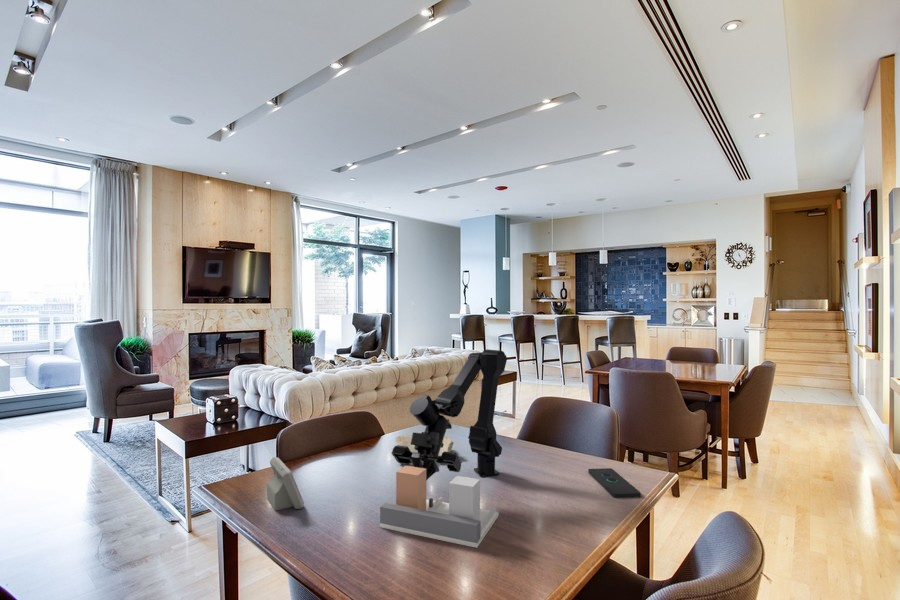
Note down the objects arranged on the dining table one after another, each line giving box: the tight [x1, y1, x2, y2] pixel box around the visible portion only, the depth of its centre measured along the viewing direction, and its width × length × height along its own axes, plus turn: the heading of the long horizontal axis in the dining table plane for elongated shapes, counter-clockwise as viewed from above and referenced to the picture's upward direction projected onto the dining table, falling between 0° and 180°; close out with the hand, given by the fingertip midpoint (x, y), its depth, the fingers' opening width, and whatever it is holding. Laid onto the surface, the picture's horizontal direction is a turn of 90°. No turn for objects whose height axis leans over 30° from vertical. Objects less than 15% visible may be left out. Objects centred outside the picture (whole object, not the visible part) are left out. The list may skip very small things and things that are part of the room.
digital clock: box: [266, 456, 305, 511], centre depth 131 cm, size 16×9×11 cm, turn 22°
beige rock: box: [395, 434, 454, 466], centre depth 172 cm, size 24×8×20 cm
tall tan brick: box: [395, 465, 427, 510], centre depth 121 cm, size 5×6×11 cm
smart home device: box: [588, 467, 641, 499], centre depth 144 cm, size 8×2×20 cm
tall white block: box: [448, 475, 481, 521], centre depth 114 cm, size 5×6×11 cm
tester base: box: [379, 496, 500, 548], centre depth 119 cm, size 17×25×5 cm
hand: (416, 488), depth 123 cm, fingers closed
